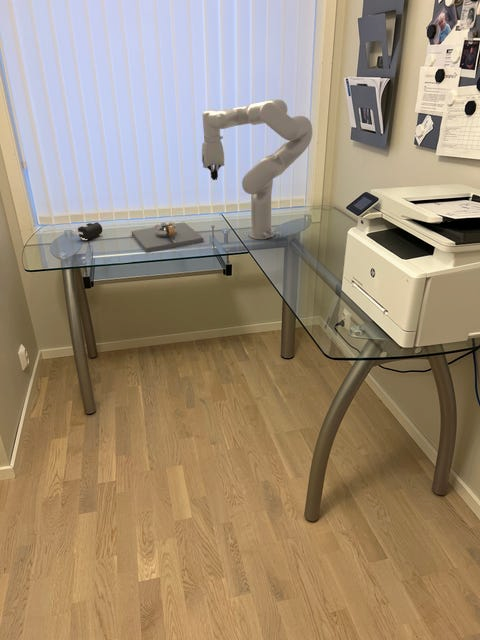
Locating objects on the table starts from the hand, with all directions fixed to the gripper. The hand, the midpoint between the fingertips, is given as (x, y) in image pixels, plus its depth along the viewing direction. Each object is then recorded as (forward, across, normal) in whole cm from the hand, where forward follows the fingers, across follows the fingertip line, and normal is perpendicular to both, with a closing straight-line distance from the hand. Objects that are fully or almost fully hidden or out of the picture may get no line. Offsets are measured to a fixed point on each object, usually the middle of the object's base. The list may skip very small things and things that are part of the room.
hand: (214, 179), depth 227 cm
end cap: (+25, +60, -20) cm, 68 cm away
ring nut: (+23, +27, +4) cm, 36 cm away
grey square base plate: (+25, +27, 0) cm, 37 cm away
